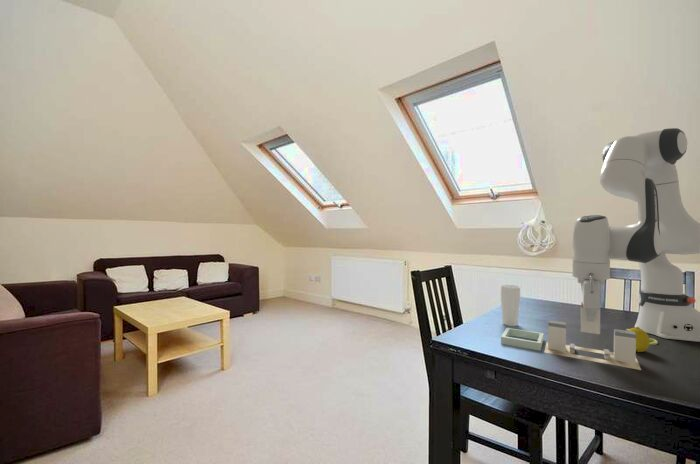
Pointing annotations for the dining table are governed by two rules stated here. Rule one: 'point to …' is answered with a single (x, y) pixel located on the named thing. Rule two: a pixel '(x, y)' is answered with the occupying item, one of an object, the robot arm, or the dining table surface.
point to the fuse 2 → (624, 346)
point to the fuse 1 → (557, 335)
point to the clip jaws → (606, 351)
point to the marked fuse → (590, 326)
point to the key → (651, 340)
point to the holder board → (611, 361)
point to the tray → (521, 342)
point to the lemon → (641, 339)
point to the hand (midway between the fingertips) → (590, 319)
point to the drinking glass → (510, 304)
